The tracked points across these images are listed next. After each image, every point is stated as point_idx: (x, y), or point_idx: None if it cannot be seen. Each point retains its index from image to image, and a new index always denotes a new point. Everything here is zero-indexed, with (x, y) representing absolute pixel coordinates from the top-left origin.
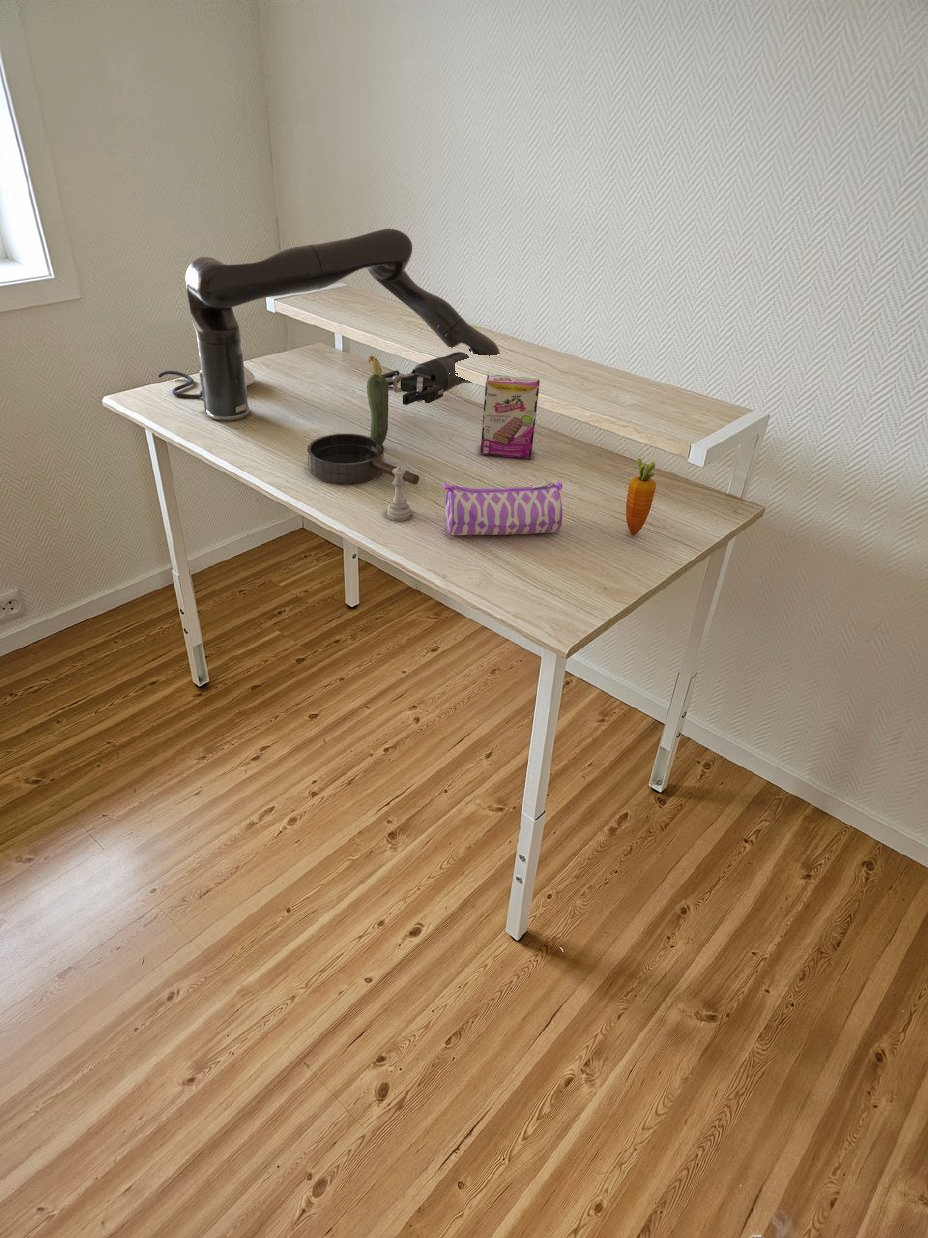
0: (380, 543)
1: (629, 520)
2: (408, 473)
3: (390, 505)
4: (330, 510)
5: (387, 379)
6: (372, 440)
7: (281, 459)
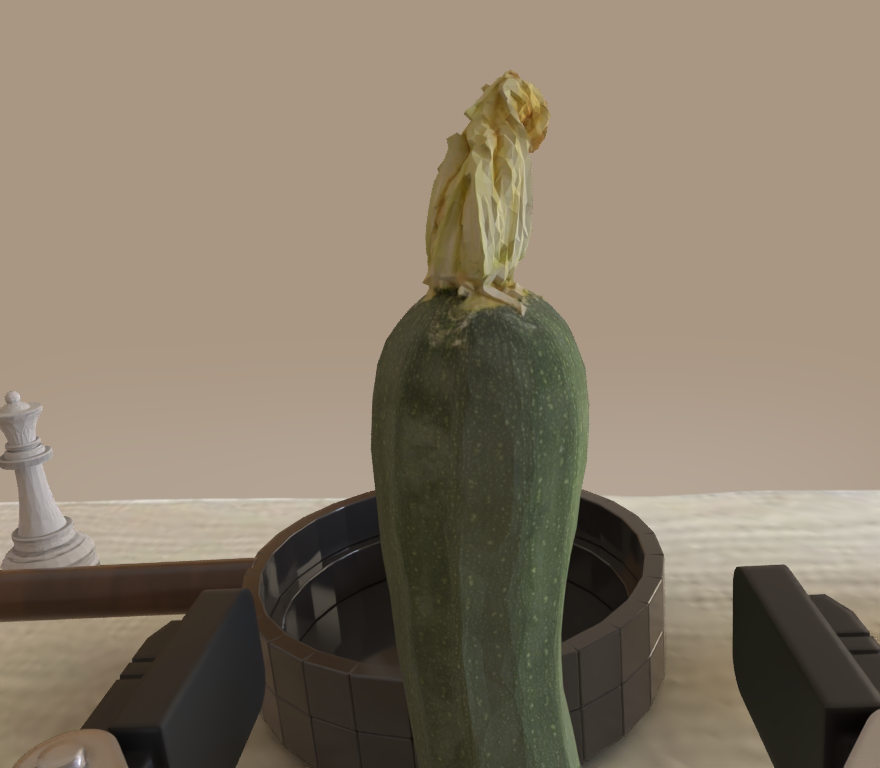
0: (74, 506)
1: None
2: (28, 569)
3: (78, 532)
4: (296, 513)
5: (876, 743)
6: None
7: None
